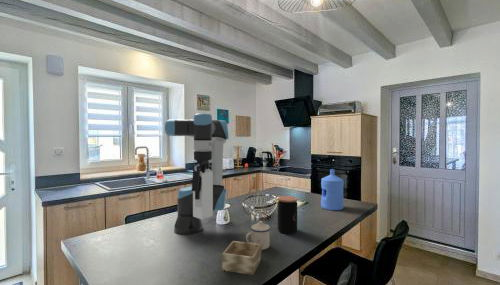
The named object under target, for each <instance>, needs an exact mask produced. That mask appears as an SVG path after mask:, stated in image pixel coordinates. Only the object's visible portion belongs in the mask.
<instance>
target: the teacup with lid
mask: <svg viewBox="0 0 500 285" xmlns="http://www.w3.org/2000/svg"><path fill="white" fill-rule="evenodd" d="M250 229H251V230H250V232H247V234H246V235H245V240H246V242H247V243H255V244H261V251H264V250H267V249H268V248H270V239H271V238H270V237H271V236H270V234H271V233H270V232H271V226H270V225H268V224H266V223H263V221H262V220H259V221H258V223H254V224H252V225H251V226H250ZM250 235H251V236H250ZM249 236H250V238H251V239H250V240H249Z"/></svg>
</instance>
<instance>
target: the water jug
mask: <svg viewBox="0 0 500 285" xmlns="http://www.w3.org/2000/svg"><path fill="white" fill-rule="evenodd" d="M335 174H336V171H335V169H334V168H331V169H330V170H329V174H328V175H326V176H324V177H322V178H321V182H320V185H321V187H320V188H321V196H320V207H321V208H322V209H325V210H327V211H342V210H343V209H344V186H345V184H344V183H345V182H344V179H343V178H341V177H339V176H337V175H335Z"/></svg>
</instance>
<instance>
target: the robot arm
mask: <svg viewBox="0 0 500 285" xmlns="http://www.w3.org/2000/svg"><path fill="white" fill-rule="evenodd" d="M164 132H165V134H166V135H167V136H168V137H169V136H170V137H190V138H193V150H194V151H193V160H194V161H196V165H192V182H191V183H192V184H191V186H187V187H181V188H180V189H179V190H178V191H177V198H176V199H177V217H176V220H175V223H174V225H173V229H174V232H175V233H176V234H180V235H191V234H192V235H193V234H197V233H199V232H201V231H202V229H203V223H202V219H199V218H196V217H193V191H195V207H202V191H201V185H202V178H201V176H200V171H202V173H204V172H205V170H206V169H210V170H211V171H212V172H213V212H217V211H219V212H221V211H224V209H225V206H226V202H227V196H228V190H227V189H226V188H225V185H224V184H223V168H224V167H223V165H224V164H223V163H224V161H223V160H224V145H225V144H226V143H227V140H228V139H229V137H230V136H229V127H228V123H227V121H226V120H224V119H223V120H222V119H213V116H212V114H211V113H195V114H194V115H193V119H175V118H173V119H167V120H166V121H165V124H164Z"/></svg>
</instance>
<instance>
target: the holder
mask: <svg viewBox="0 0 500 285" xmlns="http://www.w3.org/2000/svg"><path fill="white" fill-rule="evenodd" d="M261 260H262V250H261V244H255V243H248V242H247V241H246V242H245V241H237V240H232V241H231V242H230V243H229V245H228V246H227V247H226V249H225V250H224V251H223V252H222V254H221V271H224V270H225V272H232V273H238V274H245V275H251V276H254V275H255V274H256V271H257V269H258V266H259V265H260V264H261Z"/></svg>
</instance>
